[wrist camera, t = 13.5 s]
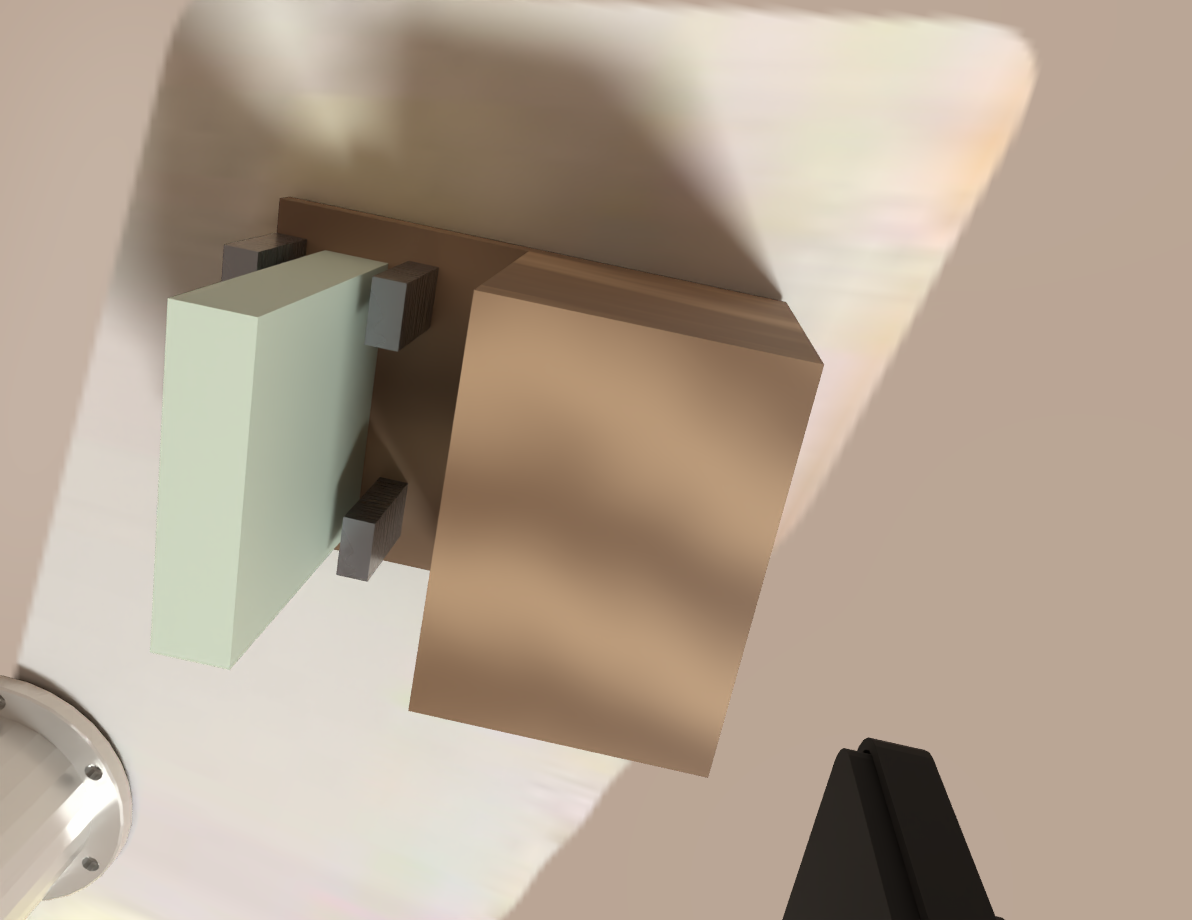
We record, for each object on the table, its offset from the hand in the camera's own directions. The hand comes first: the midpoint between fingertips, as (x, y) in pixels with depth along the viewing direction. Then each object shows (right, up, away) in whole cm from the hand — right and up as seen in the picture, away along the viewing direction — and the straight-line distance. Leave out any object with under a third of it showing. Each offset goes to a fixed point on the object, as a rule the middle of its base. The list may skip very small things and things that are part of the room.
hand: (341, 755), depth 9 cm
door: (-8, +6, +30) cm, 31 cm away
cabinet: (-1, +5, +31) cm, 31 cm away
